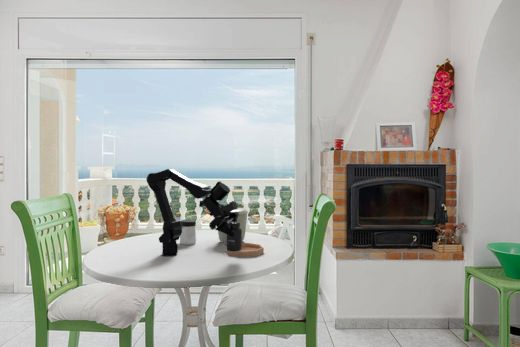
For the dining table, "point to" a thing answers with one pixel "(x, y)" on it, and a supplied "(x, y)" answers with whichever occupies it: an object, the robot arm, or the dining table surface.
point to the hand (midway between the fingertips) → (237, 234)
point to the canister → (241, 218)
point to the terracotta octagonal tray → (247, 250)
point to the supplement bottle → (234, 237)
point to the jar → (188, 232)
